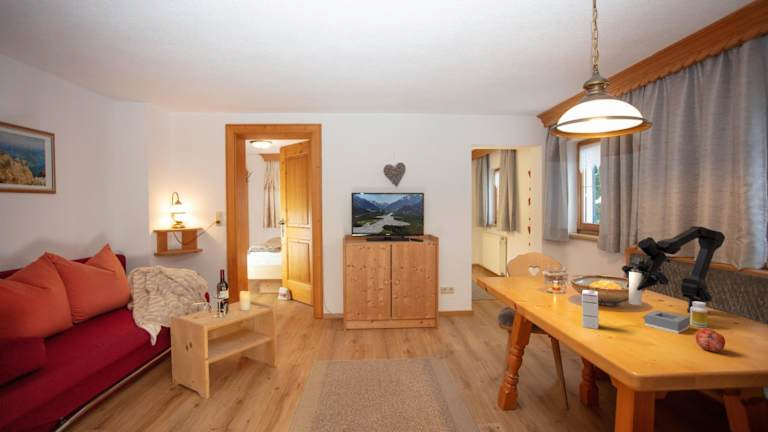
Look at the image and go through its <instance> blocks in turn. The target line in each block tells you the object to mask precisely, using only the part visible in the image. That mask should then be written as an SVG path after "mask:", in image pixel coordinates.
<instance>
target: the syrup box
mask: <svg viewBox="0 0 768 432" xmlns="http://www.w3.org/2000/svg"><path fill="white" fill-rule="evenodd" d="M599 311H600V310H599V291H597V290H592V289H591V290H589V289H582V292H581V313H582V315H581V316H582V317H581V318H582V320H581V321H582V322H581V323H582V324H581V325H582V327H583V328H587V329H588V328H589V329H593V330H594V329H595V330H599V324H600V323H599V321H600V320H599V314H600V313H599Z"/></svg>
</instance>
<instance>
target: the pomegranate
mask: <svg viewBox="0 0 768 432" xmlns="http://www.w3.org/2000/svg"><path fill="white" fill-rule="evenodd" d="M695 341H696V343H697V345H698V346H699V347H700V348H702V350H705V351H710V352H715V353H718V352H721V351H723V350H724V348H725V345H726V339H725V337H724V336H723V335H722V334H721V333H719V332H717V331H715V330H714V329H711V328H706V329H705V328H703V329H702V330H700V331H697V333H696V334H695Z"/></svg>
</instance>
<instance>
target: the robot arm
mask: <svg viewBox="0 0 768 432" xmlns="http://www.w3.org/2000/svg"><path fill="white" fill-rule="evenodd" d="M696 239H698V240H697V243H698V245H699V247H700V248H699V251H698V253H697V257H696V260H695V262H694V265H693V268H692V270H691V274H690V276H689V277H684V278H682V281H681V284H680V291H681V293H682V297H683V298H688V303H687V304H688V307H687V308H686V312H687V313H690V307H692V306H693V305H692V302H693V301H698V302H703V303H705V304H706V302H707V303H708V302H709V303H710V302H711V301H712V295H711V294H710V293H709V291H707V290H708V284H707V283H706V277H707V274H708V271H709V269H710V265H711V263H712V260H713V257H714V254H715V251H717V250H718V249H719V248H721V247H722V246H723V244H724V242H725V240H726V236H725V235H724V233H723V232H722V231H718V230H713V229H710V228H707V227H704V226H697V225H695V226H690V227H689V228H688V229H686V230H684V231H682V232H681V233H679V234H677V235H675V236H673V237H671V238H665V239H662V240H658V241H657V242H656V241H655V240H654V238H653V237H650V236H649V237H646V238H645V239H642V240H640V241H638V243H637V247H638V248H639V250H640V251H641V252H642V253H643V254H644V256H647V257H644V258H641V257H636V256H632V258H631V260H630V264H631V265H634V266H635V268H636V269H635V268H634V266H631V265H628V264H627V265H625V264H624V265H623V266H622V267H621V270H622V272H624V274H626V276H627V277H629V272H639V273H642V277H643V278H642V282H641V283H640V284H639V286H638V287H637V290H644V289H646V288H649V287H653V286H658V285H659V284H660V285H662V286H663V285H664V286H667V285H668V284H669V283H670V280H669V278H668V277H667V276H666V275H665V273H663V272H662V269H661V267H662V266H663V264H664V263H668V264H669V263H671V259H670V256H668V255H676V254H678V253H679V252H680V251H681V249H682V247H683V246H684V245H686V244H688V243H690V242H693V241H694V240H696ZM626 288H628V289H629V279H628V281H627V284H626Z"/></svg>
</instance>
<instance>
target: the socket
mask: <svg viewBox="0 0 768 432" xmlns="http://www.w3.org/2000/svg"><path fill="white" fill-rule="evenodd" d="M644 326H646V327H650V328H654V329H658V330H662V331H666V332H670V333H674V334H681V333H682V332H685V331H686V330H688V329H689V328H690V316H685V315H680V314H676V313H670V312H667V311H661V310H656V309H655V310H653V311H650V312H647V313H645V314H644Z"/></svg>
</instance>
